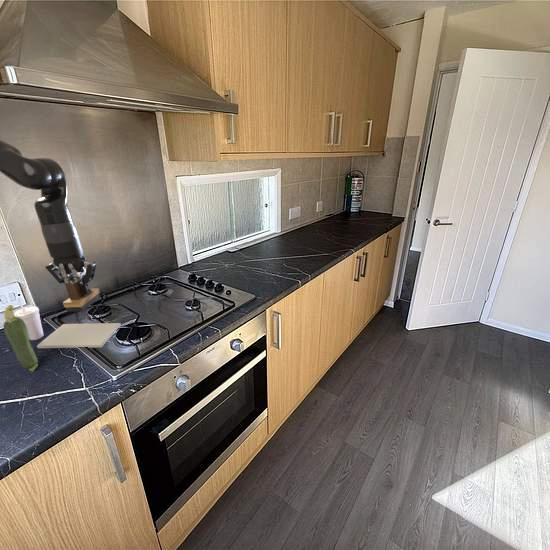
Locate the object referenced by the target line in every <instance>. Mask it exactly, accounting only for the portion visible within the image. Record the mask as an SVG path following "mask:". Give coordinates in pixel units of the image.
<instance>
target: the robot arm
mask: <svg viewBox="0 0 550 550" xmlns="http://www.w3.org/2000/svg"><path fill="white" fill-rule="evenodd" d="M0 173H1V174H3V175H4V176H5V177H7V178H8V179H10V180H11V181H12V182H13V183H15V184H16V185H19V186H21V187H24V188H26V189H28V190H34V191H40V198H39V199H37V200H36V201H35V202H34V205H33V206H34V210H35V213H36V216H37V219H38V221H39V224H40V228H41V233H42V236H43V240H44V242H45V244H46V247H47V250H48V253H49V256H50V258H52V259H53V260H52V262H51V263H48V264H47V265H46V266H45V269H46V270H47V271H48V272H49V273H50V275H51V276H52V277H53V278H54V279H55V280H56V282H57V283H59V284H64V285H65V284H66V283H68V282H69V281H71V280H73V279H74V278H76V279H77V281H78V283H79V284H80V285H79V286H80V289H81V292H82V295H83V296H87V295H88V294H89V293H90V288H89V285H88V282H89V283H90V282H91V281H93V280H94V278H95V273H96V268H97V265H98V264H97V262H96V261H92V262H91V261H88V260H87V259H86V257H85V256H84V250H83V249H84V248H83V246H82V243H81V240H80V237H79V232H78V230H77V227H76V225H75V223H74V221H73V218H72V215H71V210H70V207H69V205H68V183H67V176H66V173H65V171H64V169H63V167H61V165H60V164H59V163H58V162H57V161H55V160H54V159H52V158H49V157H39V158H36V157H35V158H28V157H25V156H23V154H22V152H21V151H20V150H19V149H18V148H17V147H15V146H14V145H11V144H10V143H8V142H5V141H3V140H2V139H0Z"/></svg>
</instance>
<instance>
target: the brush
mask: <svg viewBox="0 0 550 550" xmlns="http://www.w3.org/2000/svg"><path fill="white" fill-rule="evenodd" d="M64 285H65V288H66V292H67V294H68V297H69V298H67V299H66V300H64V301H63V302H62V305H63V308H65V310H66V312H71V313H72V312H73V313H74V312H75V313H76V312H84V311H85V310H87V309H88V308H89V307H90V306H91V305H93V304H94V303H95V302H96V301H97V300H99V299H100V298H101V296H100V294H101V293H100V289H99V288H98V287H97V288H96V287H95V288H93V287H92V288H91V284H90V282H88V285H89V288H90V293H89V294H88V295H87V296H83V295H82V292H81V289H80V286H79V285H80V284H79V283H78V281H77V279H76V278H75V277H74V279H73V280H71V281H69V282H68V283H66V284H65V283H64Z"/></svg>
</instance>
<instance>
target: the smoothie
mask: <svg viewBox="0 0 550 550" xmlns="http://www.w3.org/2000/svg"><path fill="white" fill-rule="evenodd" d="M17 301H18V304H19V306H20V309H18V310H16V311H15V312H13V313H14V316H15V317H18V318H20V319H22V320H23V321H24V322H25V324H26V327H27V330H28V334H29V341H36V340H39V339H41V338H43V337H44V335H45V334H44V330H43V326H42V321H41V316H40V309H39V307H38V306H34V305H32V306H26V307H24V305H23V302H22V300H21V298H17Z"/></svg>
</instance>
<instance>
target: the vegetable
mask: <svg viewBox="0 0 550 550" xmlns="http://www.w3.org/2000/svg"><path fill="white" fill-rule="evenodd" d="M4 309H5V310H4V312H3V317H4V319H5V321H4V323H3V332H4V334H5V336H6V338H7V340H8V342H9V344H10V346H11V348H12V350H13V352H14V354H15V356H16V358H17V360H18V362H19V364H20V365H21V367H23V368H24V369H25V370H28V371H31V372H35V370H36V369H37V367H38V366H39V364H38V363H39V360H38V358H37V356H36V353H35V351H34V349H33V348H32V347H33V346H32V345H31V342H30V339H29V334H28V330H27V327H26V324H25V322H24V321H23V320H22V319H20V318H18V317H15V316H14V313H15V312H14V311H15V310H16V308H15V307H14V306H13V305H12V304H9V305H8V306H6V307H5V308H4Z"/></svg>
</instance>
